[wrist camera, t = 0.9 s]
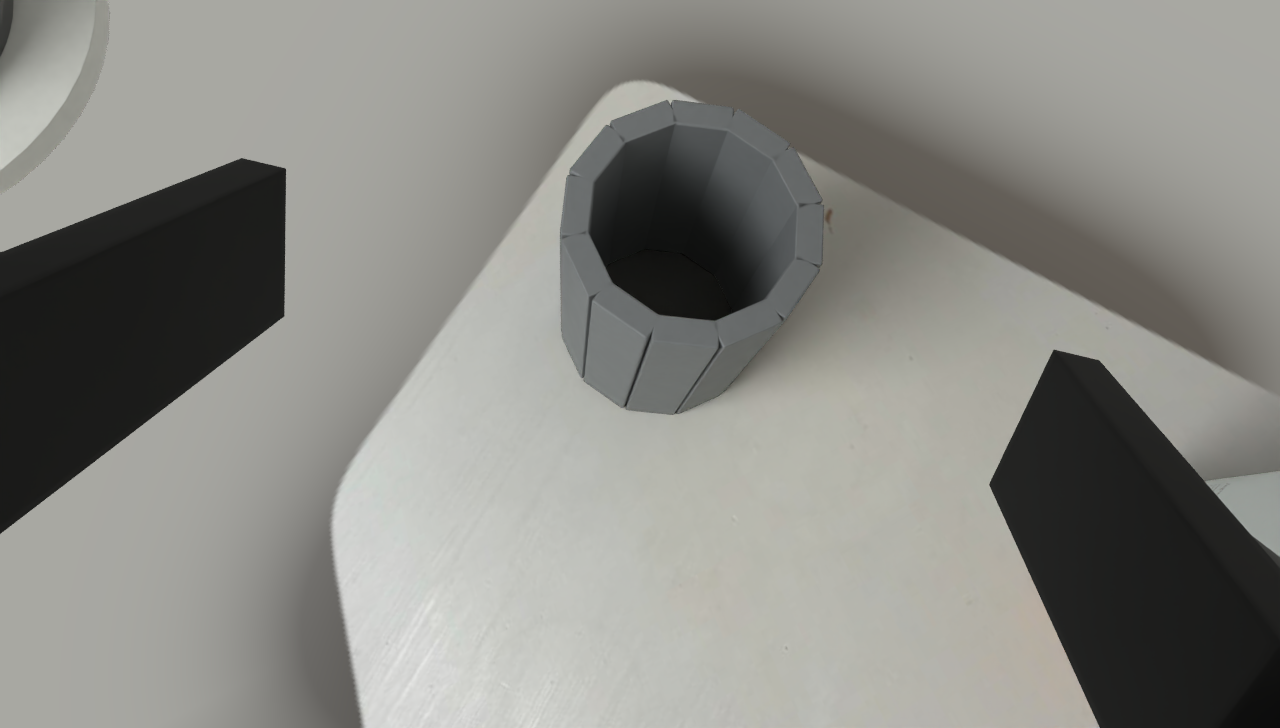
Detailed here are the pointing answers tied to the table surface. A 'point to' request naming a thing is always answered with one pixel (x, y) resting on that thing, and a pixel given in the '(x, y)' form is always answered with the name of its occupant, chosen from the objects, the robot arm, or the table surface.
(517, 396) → the table surface
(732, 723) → the table surface
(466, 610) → the table surface
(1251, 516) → the small box
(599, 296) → the slatted grey tube
